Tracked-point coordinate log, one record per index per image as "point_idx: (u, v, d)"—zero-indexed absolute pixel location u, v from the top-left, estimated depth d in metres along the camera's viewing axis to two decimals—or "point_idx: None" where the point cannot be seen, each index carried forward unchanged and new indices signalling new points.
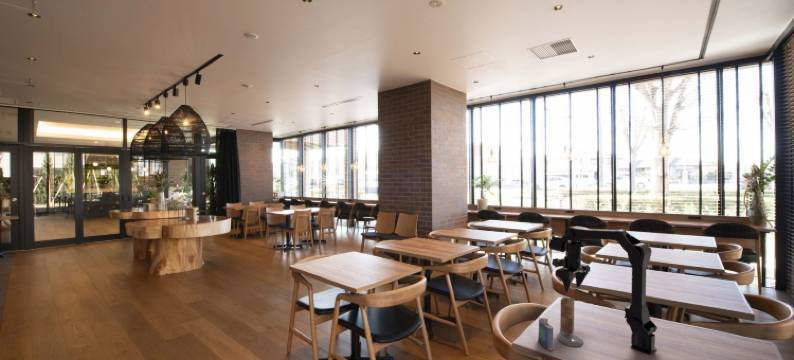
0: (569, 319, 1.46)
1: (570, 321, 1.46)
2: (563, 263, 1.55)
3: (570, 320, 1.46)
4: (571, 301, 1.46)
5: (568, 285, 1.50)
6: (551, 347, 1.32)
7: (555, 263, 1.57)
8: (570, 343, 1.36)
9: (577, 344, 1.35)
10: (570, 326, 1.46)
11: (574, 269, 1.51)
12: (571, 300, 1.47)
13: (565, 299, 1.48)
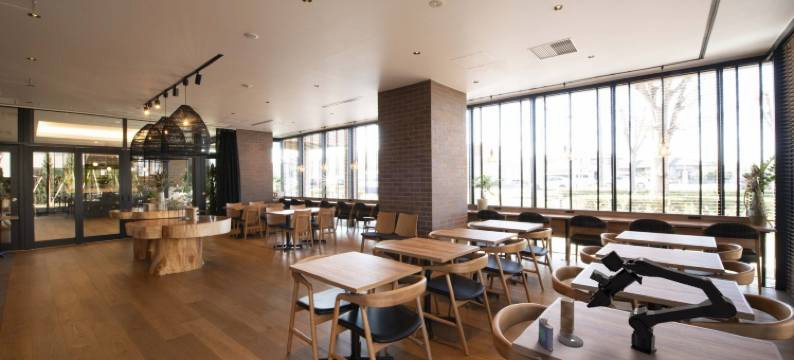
0: (569, 319, 1.46)
1: (570, 321, 1.46)
2: (604, 282, 1.37)
3: (570, 320, 1.46)
4: (571, 301, 1.46)
5: (596, 305, 1.37)
6: (551, 347, 1.32)
7: (597, 278, 1.37)
8: (570, 343, 1.36)
9: (577, 344, 1.35)
10: (570, 326, 1.46)
11: (612, 294, 1.36)
12: (571, 300, 1.47)
13: (565, 299, 1.48)
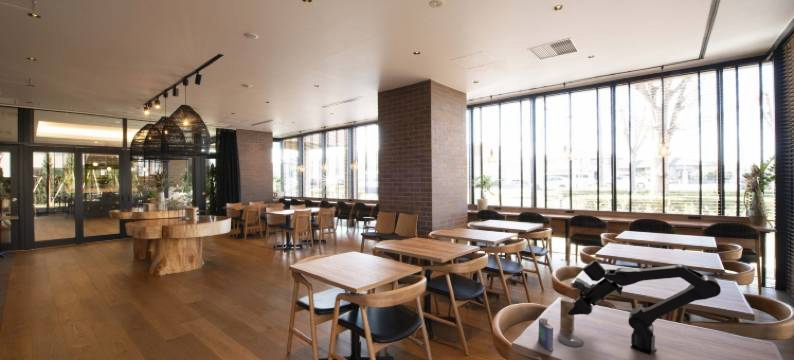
0: (569, 319, 1.46)
1: (570, 321, 1.46)
2: (586, 291, 1.41)
3: (570, 320, 1.46)
4: (571, 301, 1.46)
5: (577, 313, 1.41)
6: (551, 347, 1.32)
7: (579, 287, 1.41)
8: (570, 343, 1.36)
9: (577, 344, 1.35)
10: (570, 326, 1.46)
11: (592, 303, 1.40)
12: (571, 300, 1.47)
13: (565, 299, 1.48)
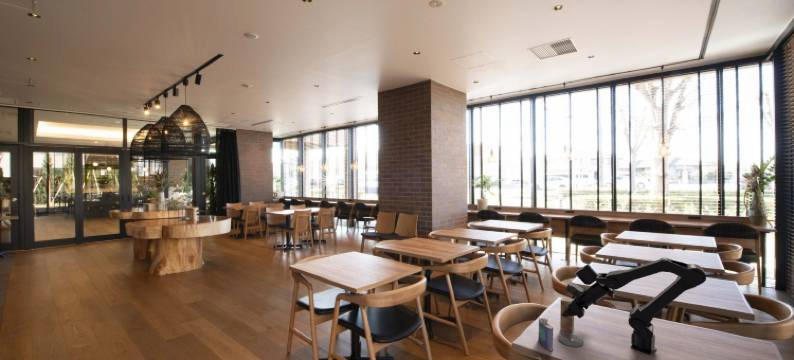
0: (569, 319, 1.46)
1: (570, 321, 1.46)
2: (578, 295, 1.43)
3: (570, 320, 1.46)
4: None
5: (570, 315, 1.44)
6: (551, 347, 1.32)
7: (571, 291, 1.43)
8: (570, 343, 1.36)
9: (577, 344, 1.35)
10: (570, 326, 1.46)
11: (585, 306, 1.42)
12: (571, 300, 1.47)
13: (565, 299, 1.48)
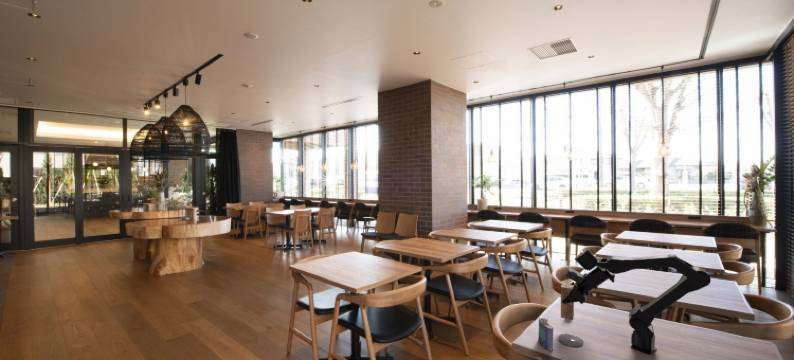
0: (570, 306, 1.44)
1: (571, 308, 1.44)
2: (579, 281, 1.41)
3: (571, 307, 1.44)
4: (571, 287, 1.44)
5: (571, 301, 1.42)
6: (551, 347, 1.32)
7: (572, 277, 1.41)
8: (570, 343, 1.36)
9: (577, 344, 1.35)
10: (571, 313, 1.44)
11: (585, 292, 1.40)
12: (571, 286, 1.45)
13: (565, 286, 1.47)
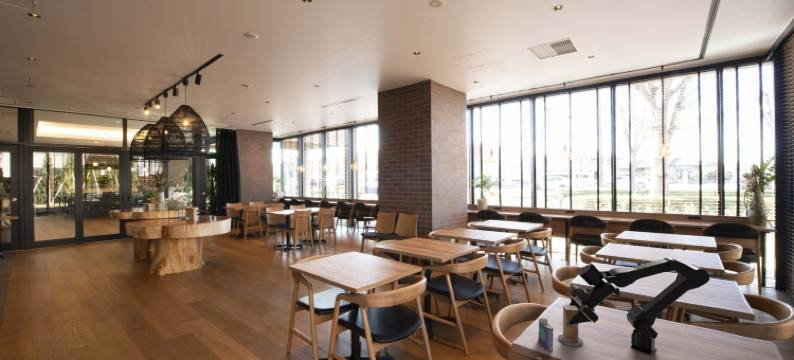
0: (575, 328, 1.36)
1: (576, 330, 1.36)
2: (585, 297, 1.34)
3: (576, 329, 1.36)
4: (576, 309, 1.37)
5: (579, 322, 1.33)
6: (551, 347, 1.32)
7: (580, 294, 1.33)
8: (570, 343, 1.36)
9: (577, 344, 1.35)
10: (576, 335, 1.36)
11: (592, 309, 1.34)
12: (574, 307, 1.38)
13: (568, 307, 1.38)
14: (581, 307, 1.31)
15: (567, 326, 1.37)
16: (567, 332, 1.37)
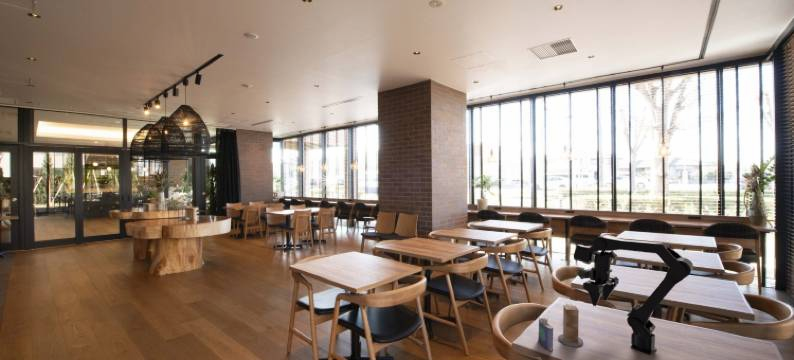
0: (575, 328, 1.36)
1: (576, 330, 1.36)
2: (590, 275, 1.43)
3: (576, 329, 1.36)
4: (576, 309, 1.37)
5: (596, 299, 1.39)
6: (551, 347, 1.32)
7: (581, 274, 1.45)
8: (570, 343, 1.36)
9: (577, 344, 1.35)
10: (576, 336, 1.36)
11: (603, 282, 1.40)
12: (575, 307, 1.38)
13: (568, 307, 1.39)
14: None
15: (567, 326, 1.37)
16: (567, 332, 1.37)
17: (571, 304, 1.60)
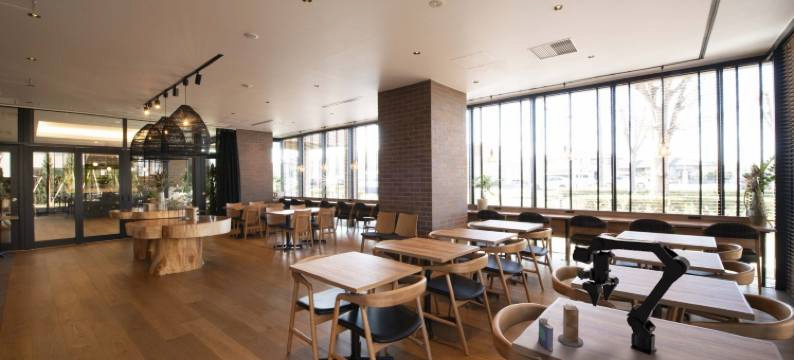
0: (575, 328, 1.36)
1: (576, 330, 1.36)
2: (589, 275, 1.44)
3: (576, 329, 1.36)
4: (576, 309, 1.37)
5: (596, 299, 1.39)
6: (551, 347, 1.32)
7: (581, 275, 1.46)
8: (570, 343, 1.36)
9: (577, 344, 1.35)
10: (576, 336, 1.36)
11: (602, 282, 1.40)
12: (575, 307, 1.38)
13: (568, 307, 1.39)
14: None
15: (567, 326, 1.37)
16: (567, 332, 1.37)
17: (571, 304, 1.60)
